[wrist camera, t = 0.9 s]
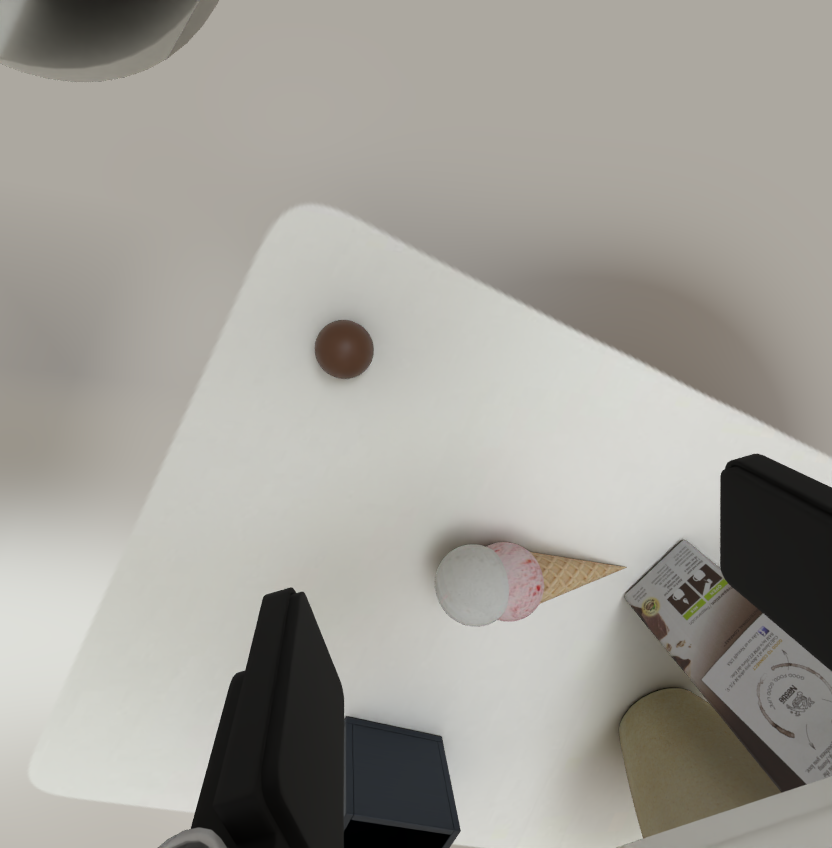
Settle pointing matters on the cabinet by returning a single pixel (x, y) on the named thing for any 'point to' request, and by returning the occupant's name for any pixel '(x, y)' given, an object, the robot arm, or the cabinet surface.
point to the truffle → (344, 349)
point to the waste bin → (396, 788)
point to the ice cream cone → (507, 581)
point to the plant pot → (685, 762)
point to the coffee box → (741, 665)
